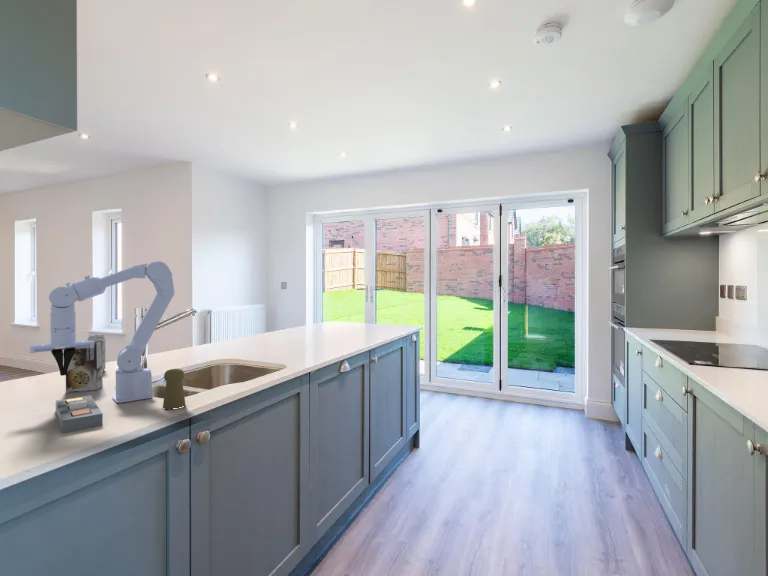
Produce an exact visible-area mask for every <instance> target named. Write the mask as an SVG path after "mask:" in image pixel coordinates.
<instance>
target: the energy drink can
mask: <svg viewBox="0 0 768 576" xmlns="http://www.w3.org/2000/svg"><path fill="white" fill-rule="evenodd" d="M104 335H105V334H104V333H103V334H102V333H95V334H93V333H92V334H89V335H88V338H87V339H86V341H101V340H102V370H104V371H105V370H106V337H105V336H104Z"/></svg>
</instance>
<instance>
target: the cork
mask: <svg viewBox="0 0 768 576" xmlns="http://www.w3.org/2000/svg"><path fill="white" fill-rule="evenodd" d="M163 377H164V380H165V382H166V383H165V389H164V396H163V402H162V403H163V404H162V409H163V408H165V409H173V408H179V407H182V406H185V404H186V399H185V393H184V392H185V391H184V384H183V379H184V377H185V371H184V370H183V369H180V368H173V369H172V368H171V369H168V370H166V371H165V372H164V375H163ZM185 407H186V406H185Z"/></svg>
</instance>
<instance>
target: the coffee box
mask: <svg viewBox="0 0 768 576" xmlns="http://www.w3.org/2000/svg"><path fill="white" fill-rule="evenodd" d="M64 348H69V347H64ZM75 351H76V352H75V354H74V356H73V358H72V360H71V362H70V364H69V367H68V370H67V375H65V393H66V392H67V393H74V392H73V391H79V392H88V391H89V390H90V391H97V390H99V389H101V388H102V387H103V386H104V385H103V382H104V381H103V372H102V340H101V341H94V348H80V349H75ZM100 387H101V388H100Z"/></svg>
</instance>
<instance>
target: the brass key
mask: <svg viewBox="0 0 768 576" xmlns="http://www.w3.org/2000/svg"><path fill="white" fill-rule="evenodd" d="M75 398H76V399H70V398H69V399H70V400H66V404H69V401H75V400H81V399H83V398H77V397H75Z"/></svg>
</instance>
